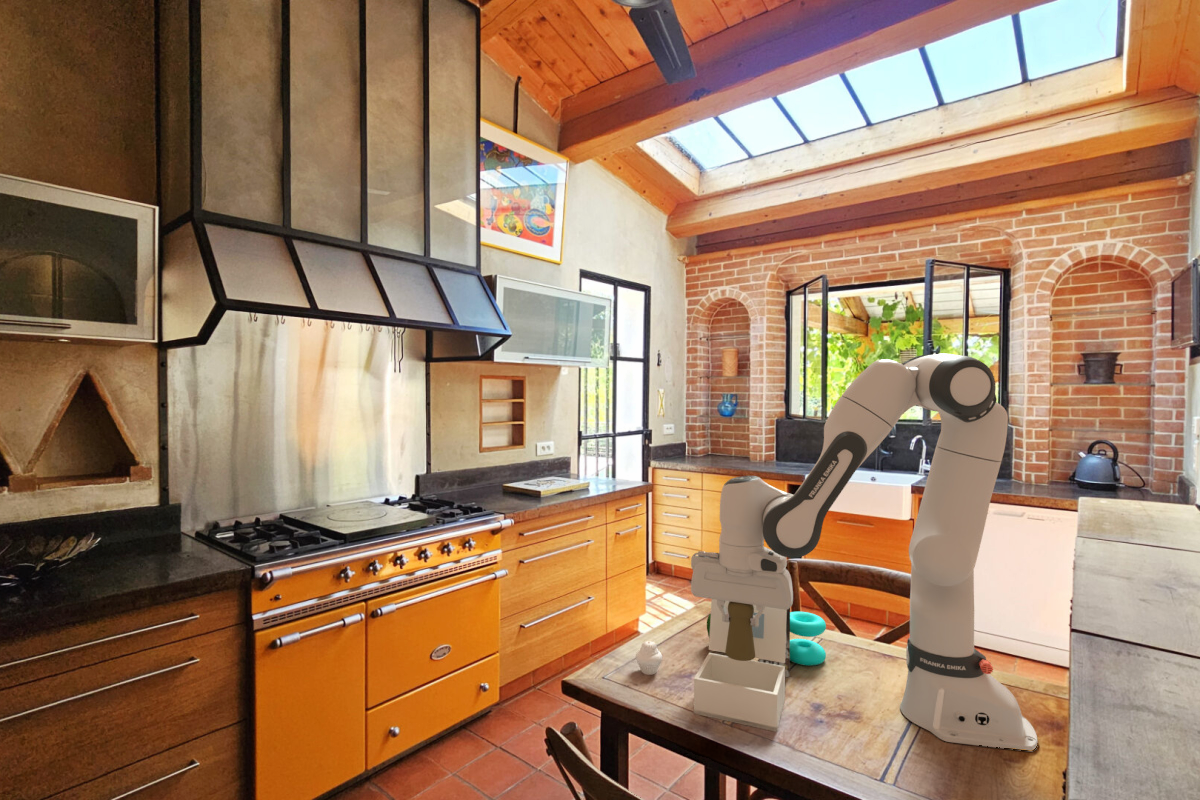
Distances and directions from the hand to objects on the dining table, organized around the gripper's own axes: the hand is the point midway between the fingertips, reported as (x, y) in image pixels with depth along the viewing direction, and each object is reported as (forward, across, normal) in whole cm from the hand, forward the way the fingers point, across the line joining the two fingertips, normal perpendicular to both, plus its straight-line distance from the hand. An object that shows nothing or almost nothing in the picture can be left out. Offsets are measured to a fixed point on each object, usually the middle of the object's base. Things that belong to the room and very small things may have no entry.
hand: (740, 623), depth 121 cm
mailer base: (+17, 0, 0) cm, 17 cm away
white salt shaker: (+17, -22, +7) cm, 29 cm away
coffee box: (+17, +4, +21) cm, 27 cm away
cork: (+6, 0, 0) cm, 7 cm away
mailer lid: (+3, 0, +8) cm, 8 cm away
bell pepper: (+17, -9, +27) cm, 33 cm away
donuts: (+17, +10, +29) cm, 35 cm away
